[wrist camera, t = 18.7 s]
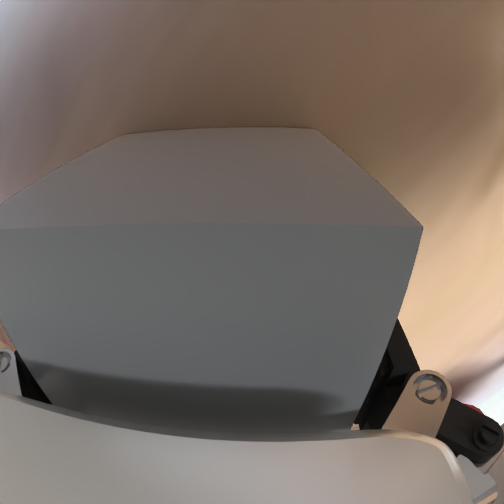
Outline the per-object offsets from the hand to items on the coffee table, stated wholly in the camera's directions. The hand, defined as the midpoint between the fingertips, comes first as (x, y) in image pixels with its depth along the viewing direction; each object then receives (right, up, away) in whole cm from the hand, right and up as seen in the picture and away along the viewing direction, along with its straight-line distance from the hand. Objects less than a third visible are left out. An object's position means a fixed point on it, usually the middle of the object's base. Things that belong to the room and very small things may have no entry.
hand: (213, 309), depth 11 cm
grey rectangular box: (0, +2, +4) cm, 4 cm away
